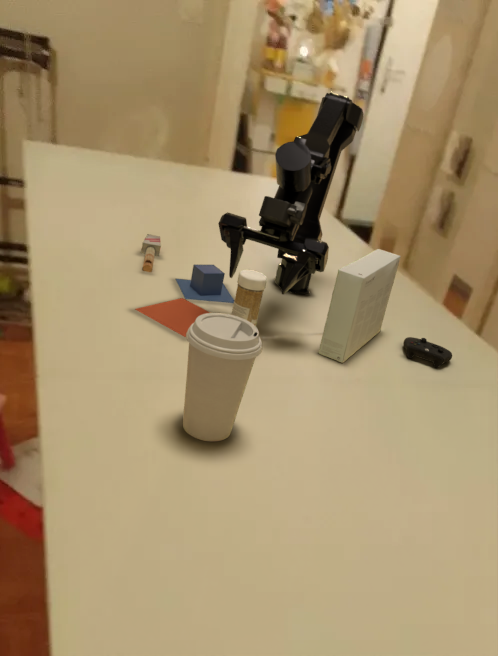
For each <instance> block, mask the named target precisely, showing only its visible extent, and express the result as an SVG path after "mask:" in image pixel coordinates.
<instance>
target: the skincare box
mask: <svg viewBox="0 0 498 656" xmlns="http://www.w3.org/2000/svg"><path fill="white" fill-rule="evenodd" d="M401 257H402V256H401V255H400V254H396V253H393V252H390V251H386V250H384V249H380V248H377V249H375V250H373V251H371V252H369V253H367V254H365V255H363V256H361V257H360V258H358V259H356V260H354V261H352V262H350V263H348V264H346V265H344V266H342V267H341V268H339V269H337V272H336V273H337V274H336V277H335V281H334V285H333V286H334V287H333V290H332V294H331V299H330V303H329V307H328V312H327V316H326V320H325V324H324V329H323V332H322V336H321V341H320V345H319V349H318V354H319V355H321V356H324V357H327V358H329V359H330V360H331V359H332V360H334V361H337V362H339V363H341V364H343V363H345V362H346V361H347V360H348V359H349V358H350V357H352V356H353V355H354V354H355V353H356V352H357V351H359V350H360V349H361V348H363V347H364V345H367V343H369V341H371V340H372V339H373V338H374V337H375V336H376V335H378V334H379V333H380V332H381V329H382V326H383V323H384V318H385V315H386V311H387V308H388V303H389V300H390V297H391V293H392V289H393V286H394V282H395V279H396V276H397V275H396V274H397V272H398V267H399V265H400V261H401Z"/></svg>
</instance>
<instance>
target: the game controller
mask: <svg viewBox="0 0 498 656" xmlns="http://www.w3.org/2000/svg"><path fill="white" fill-rule="evenodd" d="M403 347H404V348H405V353H406V357H407V358H408V359H412V358H413V357H417V358H420V359H423V360H426V361H429V362H432V363H433V367H434V368H440V367H441V366H442V365H444V364H445V363H448V362H450V361H451V360H452V359H453V353H452V351H450V350H449V349H447V348H445V347H443V346H441V345H439V344H436V343H433V342H430V341H427V338H425V337H421V338H418V337H414V336H413V337H412V336H408V337H405V338H404V340H403Z"/></svg>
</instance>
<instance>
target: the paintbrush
mask: <svg viewBox="0 0 498 656" xmlns="http://www.w3.org/2000/svg"><path fill="white" fill-rule="evenodd" d="M161 247H162V244H161V236H159V235H155V234H149V233H147V234H146V236H145V238H144V239H143V241H142V244H141V250H140V254H144V259H143V264H142V271H143V272H147V273H152V272H153V267H154V261H155V257H160V251H161Z"/></svg>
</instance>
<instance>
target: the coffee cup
mask: <svg viewBox="0 0 498 656" xmlns="http://www.w3.org/2000/svg"><path fill="white" fill-rule="evenodd" d="M185 338H186V340H187V342H188V352H187V367H186V379H185V382H186V383H185V392H184V403H183V415H182V428H183V430H184V431H185V433H187V434H188V435H189V436H191V437H192V438H195V439H197V440H200V441H205V442H221V441H224V440H226V439H227V438H229V437H230V435H231V433H232V430H233V428H234V425H235V422H236V418H237V415H238V412H239V410H240V406H241V403H242V400H243V397H244V393H245V390H246V388H247V385H248V381H249V379H250V376H251V372H252V370H253V366H254V363H255V360H256V358H257V357H258V356H259V355H260V354H261V353H262V351H263V343H262V339H261V337H260V332H259V329H258V327H257V325H256V326H255V325H253V324H252V323H251V322H249V321H247V320H245V319H243V318H240V317H237V316H234V315H231V314H229V313H224V312H210V313H206V314H202V315H200V316H198V317H197V318H196V320H195V322H194V323H193V324H192V325H191V326H190V327H189V329H188V331H187V333H186V337H185Z"/></svg>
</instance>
